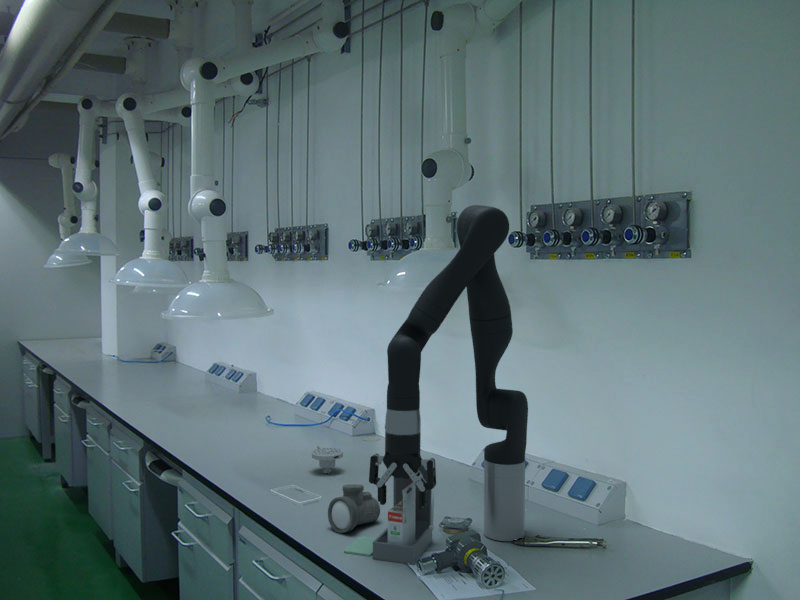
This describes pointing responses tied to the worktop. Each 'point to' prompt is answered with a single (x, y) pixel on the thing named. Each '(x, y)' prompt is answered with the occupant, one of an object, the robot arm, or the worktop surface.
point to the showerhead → (327, 457)
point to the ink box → (403, 519)
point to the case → (422, 527)
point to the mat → (361, 546)
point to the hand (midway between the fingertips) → (402, 505)
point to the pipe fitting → (352, 509)
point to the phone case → (273, 491)
